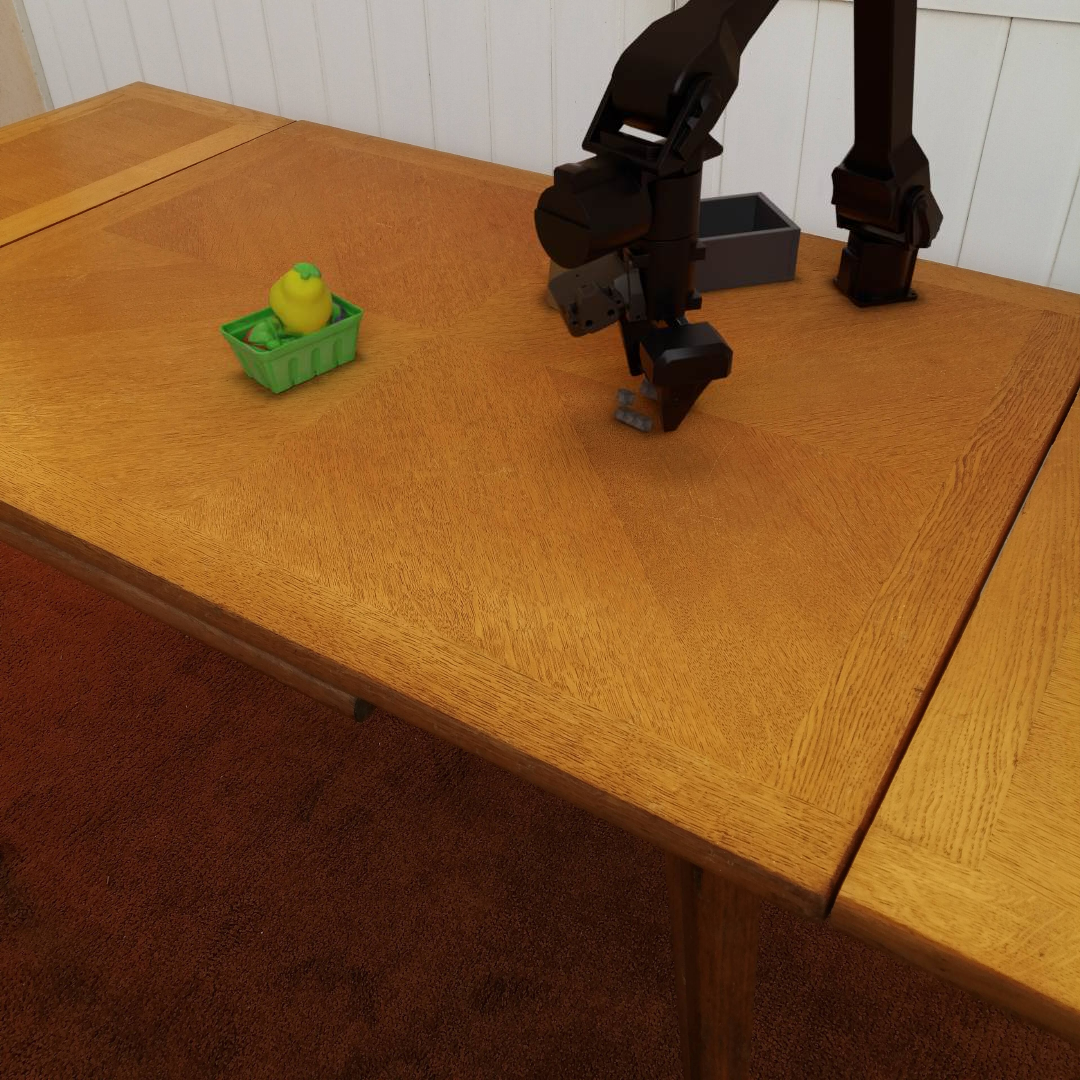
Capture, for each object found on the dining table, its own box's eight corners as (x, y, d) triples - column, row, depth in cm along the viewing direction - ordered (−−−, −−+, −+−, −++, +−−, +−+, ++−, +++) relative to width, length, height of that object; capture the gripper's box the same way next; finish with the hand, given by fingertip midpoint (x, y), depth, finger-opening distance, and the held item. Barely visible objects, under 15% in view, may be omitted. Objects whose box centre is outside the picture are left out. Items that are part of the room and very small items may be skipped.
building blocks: (699, 372, 86) (648, 367, 80) (678, 431, 88) (626, 430, 82) (670, 360, 88) (618, 353, 82) (649, 418, 90) (597, 416, 84)
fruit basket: (327, 332, 100) (307, 222, 92) (382, 363, 95) (365, 249, 88) (227, 376, 94) (197, 262, 87) (280, 411, 89) (253, 293, 82)
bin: (755, 240, 113) (761, 191, 110) (794, 279, 105) (801, 228, 102) (632, 255, 111) (633, 206, 108) (662, 297, 103) (664, 245, 100)
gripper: (530, 193, 82) (536, 361, 92) (589, 293, 68) (589, 479, 78) (661, 178, 83) (653, 345, 93) (745, 273, 69) (725, 457, 79)
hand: (652, 401), depth 86 cm, fingers open, 9 cm apart
